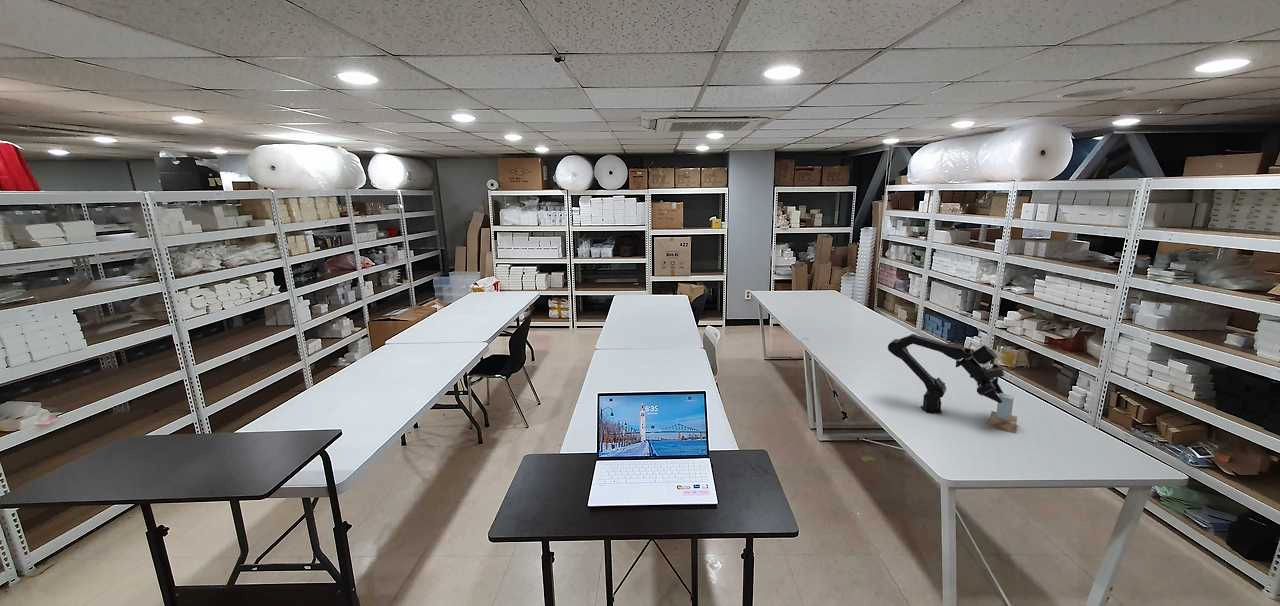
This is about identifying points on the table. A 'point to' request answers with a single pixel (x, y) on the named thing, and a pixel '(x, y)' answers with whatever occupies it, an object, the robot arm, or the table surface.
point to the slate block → (1005, 407)
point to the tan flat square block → (1002, 423)
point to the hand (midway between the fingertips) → (1002, 399)
